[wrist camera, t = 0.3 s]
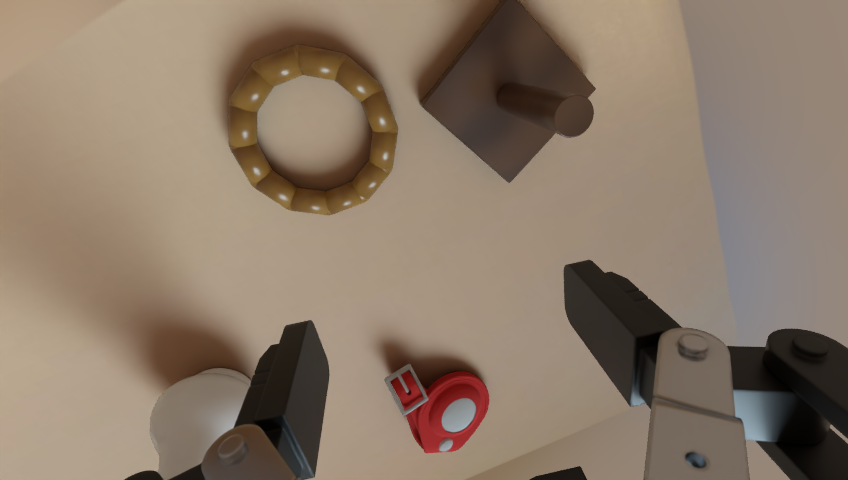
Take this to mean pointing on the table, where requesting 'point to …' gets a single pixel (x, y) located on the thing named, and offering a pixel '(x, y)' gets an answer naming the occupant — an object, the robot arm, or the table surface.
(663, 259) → the table surface
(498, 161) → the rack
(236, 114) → the ring
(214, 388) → the flower vase
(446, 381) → the tracker holder
